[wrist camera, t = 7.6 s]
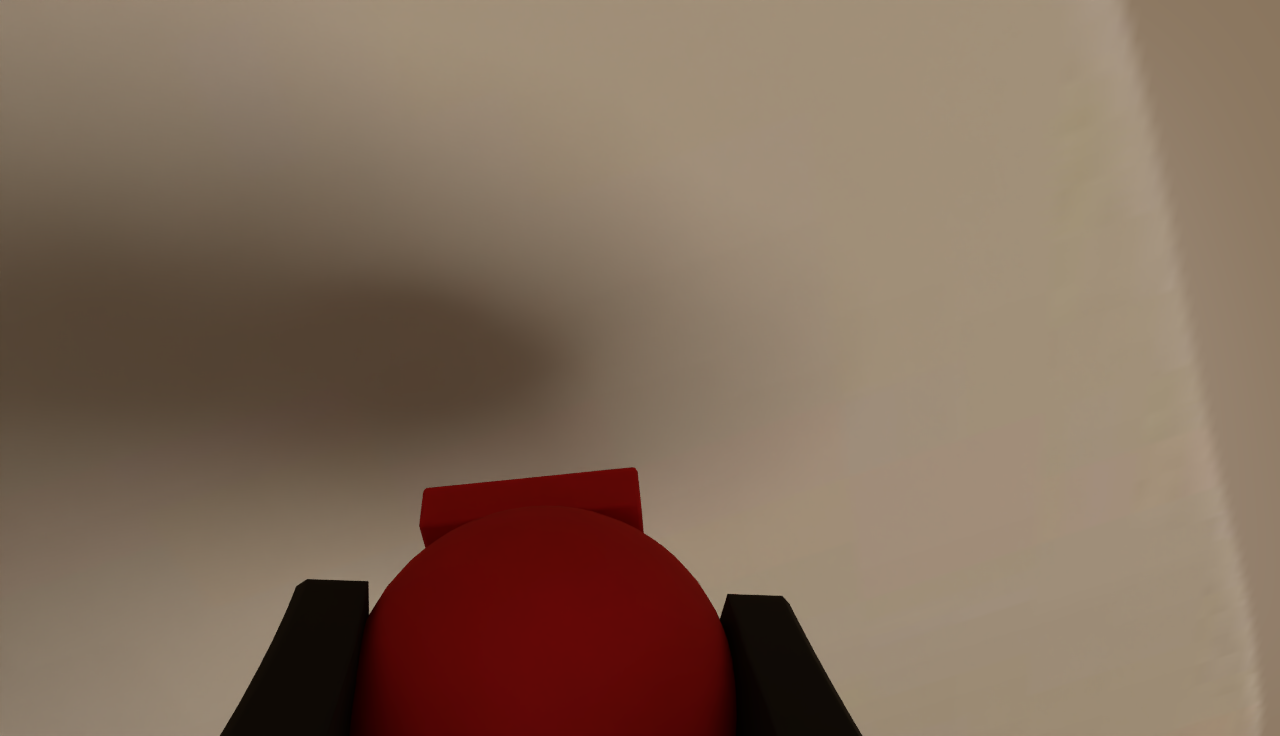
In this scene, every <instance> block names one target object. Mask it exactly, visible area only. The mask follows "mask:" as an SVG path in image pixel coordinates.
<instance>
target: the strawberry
mask: <svg viewBox="0 0 1280 736" xmlns="http://www.w3.org/2000/svg"><path fill="white" fill-rule="evenodd" d="M419 527H420V530H421V534H422V537H423V541H424V544H425V549H424V550H423V551H421V552H420V553H419V554H418V555H417V556H415V557H414V558H413V559H412V560H411V561H410V562H409V563H408V564H407V565H406V566H405V567H404V568H403V569H402V571H401V572H400V573H399V574H398V575H397V576H396V577H395V578H394V579H393V581H392V582H391V583H390V584H389V585H388V586H387V588H386V589H385V591H384V592H383V594H382V595H381V597H380V599H379V600H378V602H377V603H376V605H375V607H374V608H373V610H372V611H371V613H370V614H369V616H368V618H367V620H366V624H365V627H364V631H363V637H362V642H361V648H360V655H359V662H358V669H357V677H356V687H355V693H354V699H353V706H352V714H351V724H350V735H349V736H736V721H737V710H736V685H735V676H734V668H733V659H732V655H731V651H730V647H729V643H728V639H727V637H726V634H725V631H724V628H723V626H722V624H721V621H720V619H719V617H718V615H717V612H716V610H715V609H714V607H713V605H712V604H711V602H710V600H709V598H708V597H707V595H706V594H705V592H704V591H703V589H702V588H701V586H700V585H699V583H698V582H697V580H696V579H695V578H694V577H693V576H692V575H691V573H690V572H689V571H688V570H687V569H686V568H685V567H684V566H683V565H682V563H681V562H680V561H679V560H678V559H677V558H676V557H675V556H674V555H673V554H671V553H670V552H669V551H668V550H667V549H666V548H664V547H663V546H662V545H660V544H659V543H658V542H656V541H655V540H653V539H652V538H650V537H649V536H647V535H646V534H644V531H643V520H642V509H641V499H640V490H639V481H638V472H637V470H636V469H635V468H633V467H631V468H621V469H611V470H601V471H591V472H581V473H571V474H561V475H551V476H541V477H532V478H522V479H512V480H502V481H492V482H482V483H472V484H462V485H452V486H442V487H432V488H426V489H425V490H424V492H423V498H422V506H421V515H420V524H419Z"/></svg>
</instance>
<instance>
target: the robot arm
mask: <svg viewBox="0 0 1280 736" xmlns="http://www.w3.org/2000/svg"><path fill="white" fill-rule="evenodd" d="M368 616H369V589H368V581H344V580H316V579H307V580H305V581H304V582H302V583H301V584H299V585H298V586H296V588H295V591H294V593H293V596H292V598H291V601H290V603H289V606H288V608H287V610H286V613H285V615H284V617H283V619H282V621H281V624H280V626H279V628H278V630H277V632H276V634H275V636H274V638H273V641H272V643H271V645H270V647H269V649H268V651H267V653H266V654H265V656H264V658H263V660H262V662H261V664H260V666H259V668H258V670H257V672H256V674H255V675H254V677H253V679H252V681H251V683H250V685H249V686H248V688H247V690H246V692H245V694H244V696H243V697H242V699H241V701H240V703H239V705H238V706H237V708H236V710H235V711H234V713H233V715H232V717H231V718H230V720H229V722H228V723H227V725H226V727H225V728H224V730H223V732H222V733H221V735H220V736H349V735H350V724H351V714H352V706H353V699H354V693H355V687H356V677H357V669H358V662H359V655H360V648H361V642H362V637H363V631H364V627H365V624H366V620H367V618H368ZM720 621H721V624H722V626H723V628H724V631H725V634H726V637H727V639H728V643H729V647H730V651H731V655H732V659H733V668H734V676H735V685H736V710H737V721H736V736H862V734H861V733H860V731H859V729H858V728H857V726H856V724H855V723H854V721H853V719H852V718H851V716H850V714H849V712H848V711H847V709H846V707H845V706H844V704H843V702H842V700H841V699H840V697H839V695H838V693H837V692H836V690H835V688H834V686H833V685H832V683H831V681H830V679H829V677H828V676H827V674H826V672H825V670H824V668H823V667H822V665H821V663H820V661H819V659H818V657H817V656H816V654H815V652H814V650H813V648H812V646H811V645H810V643H809V641H808V639H807V637H806V635H805V633H804V631H803V629H802V627H801V626H800V624H799V622H798V620H797V618H796V616H795V614H794V612H793V610H792V608H791V606H790V604H789V603H788V602H787V601H786V600H785V599H784V597H783V596H767V595H739V594H727V598H726V601H725V604H724V608H723V611H722V614H721V618H720Z"/></svg>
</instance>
